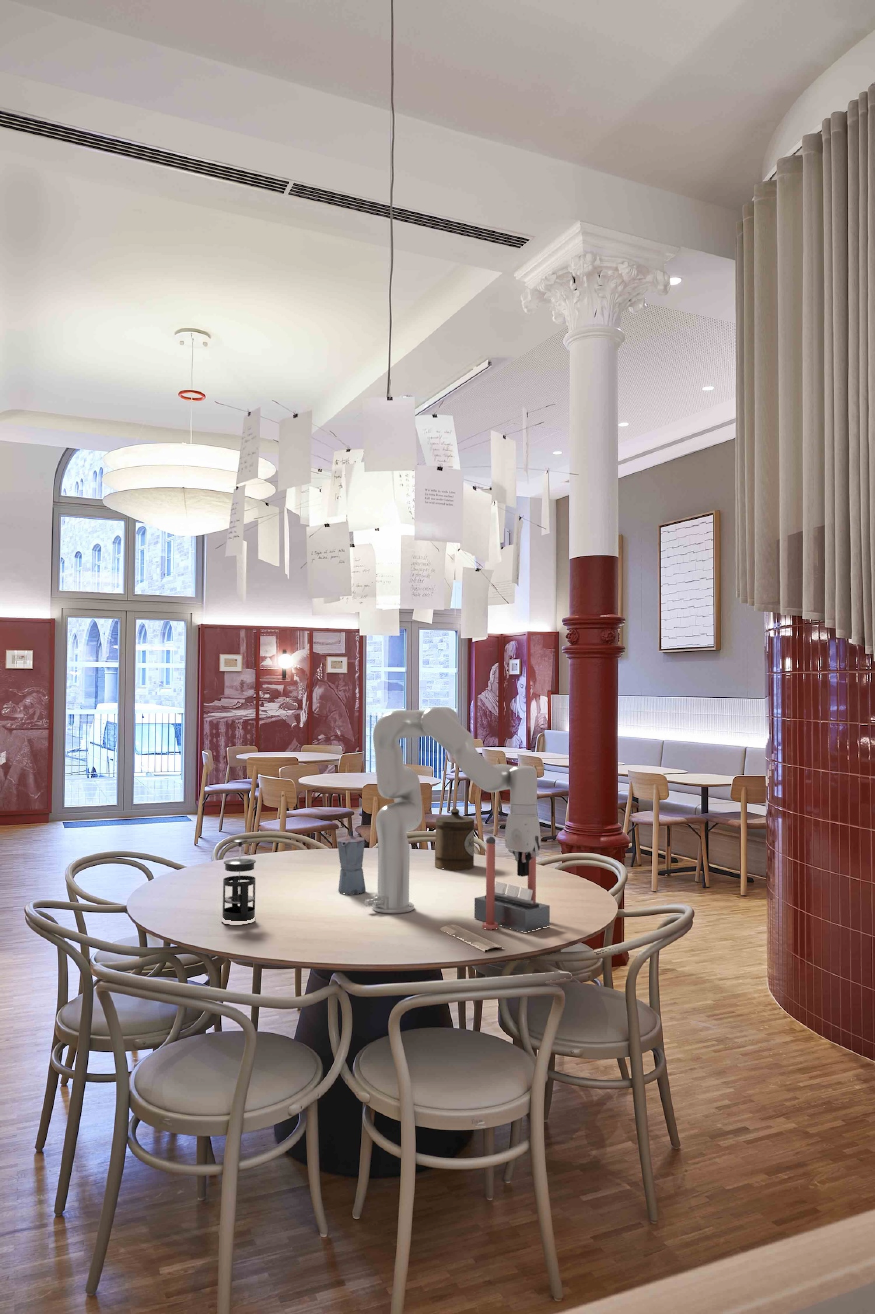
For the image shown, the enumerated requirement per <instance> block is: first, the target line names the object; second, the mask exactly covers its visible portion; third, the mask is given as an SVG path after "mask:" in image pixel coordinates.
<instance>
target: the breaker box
mask: <svg viewBox="0 0 875 1314" xmlns="http://www.w3.org/2000/svg"><path fill="white" fill-rule="evenodd" d="M473 910H474V918H476V919H475V920H477V919H479V920H478V921H480V920H482V921H481V922H484V921H486V894H485V895H483V896H477V897H474V909H473ZM550 910H551V909H550V905H549V904H545V903H541V902H537V901H536V902H534V903H533V904H528V903H524V902H520V901H516V900H512V899H508V898H504V897H500V896H496V895H495V922H496V923H498V925H502V926H504V927H503V928H505V927H507V928H506V929H508V928H511V929H513V930H512V931H515V930H518V931H523V932H528V931H532V930H536V929H538V928H543V927H547V926H551V925H550V924H551V923H550V919H551V917H550V914H551V913H550V912H551V911H550ZM511 929H510V930H511ZM518 931H517V932H518Z"/></svg>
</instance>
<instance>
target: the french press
mask: <svg viewBox="0 0 875 1314" xmlns="http://www.w3.org/2000/svg"><path fill="white" fill-rule="evenodd" d="M247 842H248V839H244V838H237V839H234V840H232V843H237V844H238V845H237V846H238V847H239V848H238V849H239V854H238V858H230V859H226V860H224V861H223V864H224V870H225V871H227V872H234V873H238V875H231V876H227V877H224V878H223V880H222V882H223V883H222V915H221V916H222V917H223V918H224V919H225V920H231V921H247V920H251V919H253V918H254V917H255V918H256V916H255V913H256V877H255V876H252V875H241V873H242V872H249V871H253V870H254V869H255V864H256V862H257V861H256V860H255V859H253V858H241V855H242V853H241V851H242V850H241V849H242V847H243V843H247ZM249 886H252V896H251V895H249ZM226 887H232V888H231V891H232V892H231V896H230V895H229V896H226ZM251 902H252V906H249V903H251ZM226 904H230V905H231V906H228V907H226Z"/></svg>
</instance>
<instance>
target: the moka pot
mask: <svg viewBox="0 0 875 1314" xmlns="http://www.w3.org/2000/svg"><path fill="white" fill-rule="evenodd" d="M365 840H366V839H365V837H362V835H361V833H360V832H358V833H357V834H356V835H354V831H352V830H349V831H348V836H344V837H340V838H338V839H337V840H336V841H337V850H338V851H337V852H338V857H339V863H340V872H339V882H338V888H337V889H338V890H337V891H338V893H339V892H340V893H339V894H341V893H345V894H344V895H346V894H354V895H359V893H360V894H362V893H364V892H366V890H367V889H366V883H365V878H364V869H363V861H364V851H365V844H366V842H365Z"/></svg>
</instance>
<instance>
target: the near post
mask: <svg viewBox="0 0 875 1314" xmlns="http://www.w3.org/2000/svg"><path fill="white" fill-rule="evenodd" d="M485 842H486V843H485V844H486V859H485V861H486V864H485V865H486V866H485V867H486V869H485V871H486V873H485V879H486V881H485V882H486V883H485V889H486V890H485V895H486V922H484V921H482V923H481V924H482V926H481V927H483V928H486V929H490V930H489V931H493V930H492V929H496V928H498V929H499V926H498V923H496V922H495V885H496V881H495V880H496V838H495V837H494V836H491V835H490V836H487V837H486V840H485ZM483 928H482V929H483Z"/></svg>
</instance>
